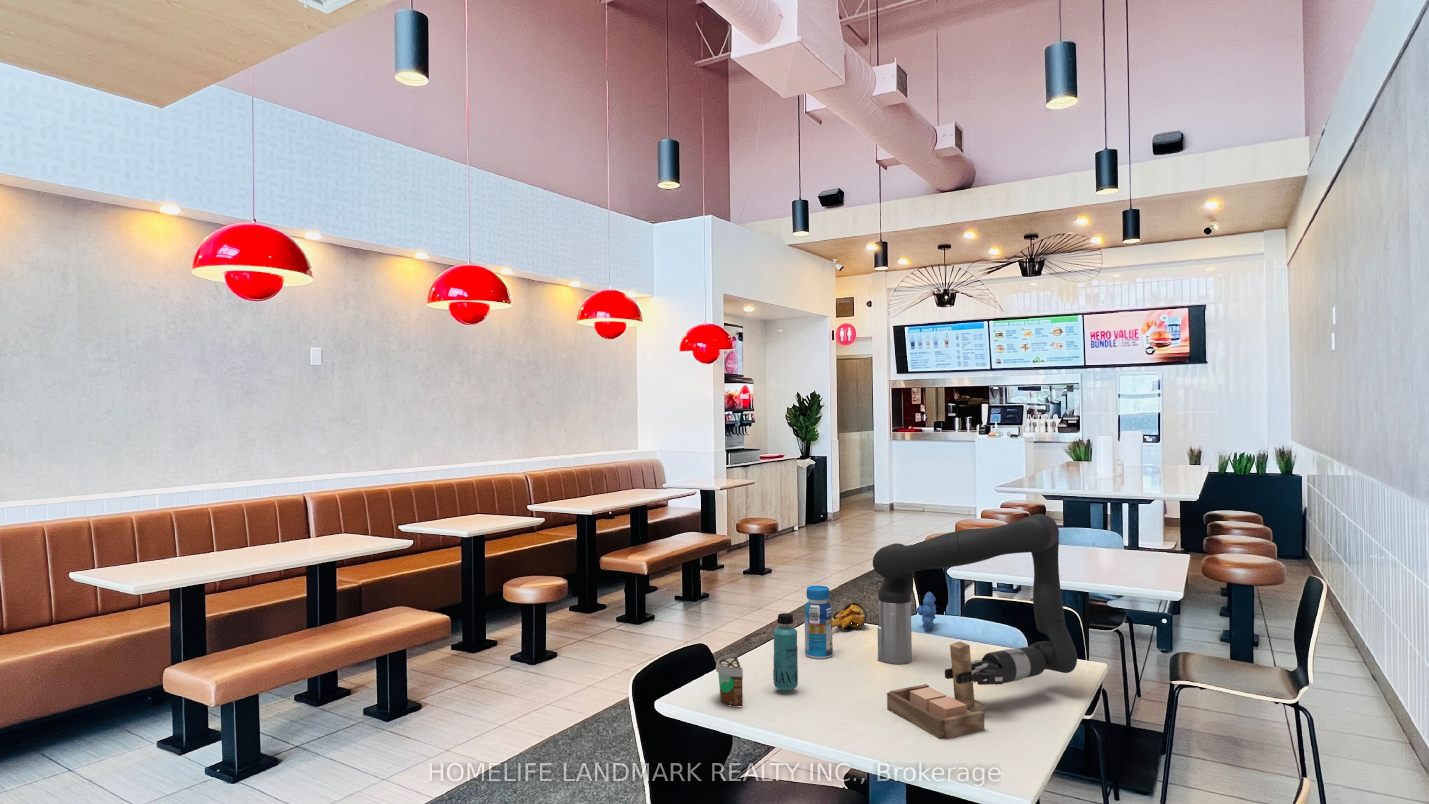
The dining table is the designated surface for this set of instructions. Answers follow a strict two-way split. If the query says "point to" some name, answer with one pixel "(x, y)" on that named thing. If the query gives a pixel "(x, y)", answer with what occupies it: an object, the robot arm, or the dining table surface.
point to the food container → (730, 680)
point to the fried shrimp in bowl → (850, 617)
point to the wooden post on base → (961, 665)
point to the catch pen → (933, 716)
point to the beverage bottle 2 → (818, 623)
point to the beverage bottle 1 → (785, 654)
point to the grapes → (927, 611)
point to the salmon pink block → (947, 707)
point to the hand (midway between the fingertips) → (951, 676)
